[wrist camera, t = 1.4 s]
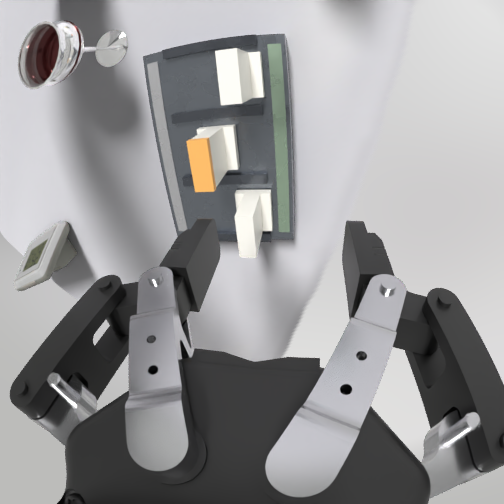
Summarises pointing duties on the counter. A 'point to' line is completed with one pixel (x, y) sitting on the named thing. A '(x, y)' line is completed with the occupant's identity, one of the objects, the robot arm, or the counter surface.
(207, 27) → the counter surface
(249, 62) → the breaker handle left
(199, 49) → the breaker panel
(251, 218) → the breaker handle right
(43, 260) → the digital clock
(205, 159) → the breaker handle
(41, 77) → the wineglass
